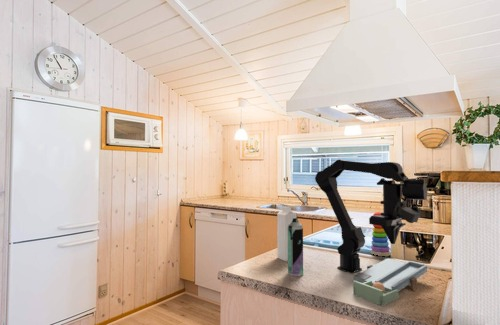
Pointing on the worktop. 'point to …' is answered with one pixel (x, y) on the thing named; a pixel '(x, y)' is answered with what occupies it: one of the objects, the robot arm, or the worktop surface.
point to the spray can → (295, 248)
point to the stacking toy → (379, 241)
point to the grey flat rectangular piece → (392, 273)
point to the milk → (283, 231)
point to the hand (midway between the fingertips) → (392, 243)
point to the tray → (373, 293)
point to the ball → (379, 286)
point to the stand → (411, 287)
